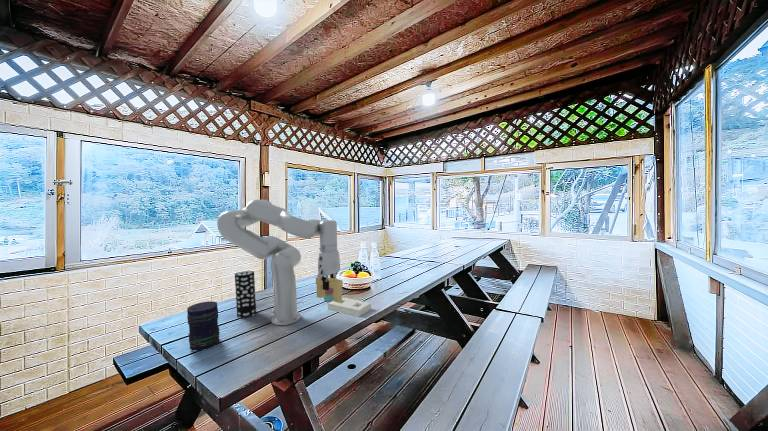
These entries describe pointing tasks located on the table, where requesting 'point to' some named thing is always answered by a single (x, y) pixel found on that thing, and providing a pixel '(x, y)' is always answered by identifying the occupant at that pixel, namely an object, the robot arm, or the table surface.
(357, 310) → the white slab with recess
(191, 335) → the storage jar
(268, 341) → the table surface
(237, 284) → the white-spotted black cylinder
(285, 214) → the robot arm
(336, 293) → the yellow arch block
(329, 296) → the cupcake
